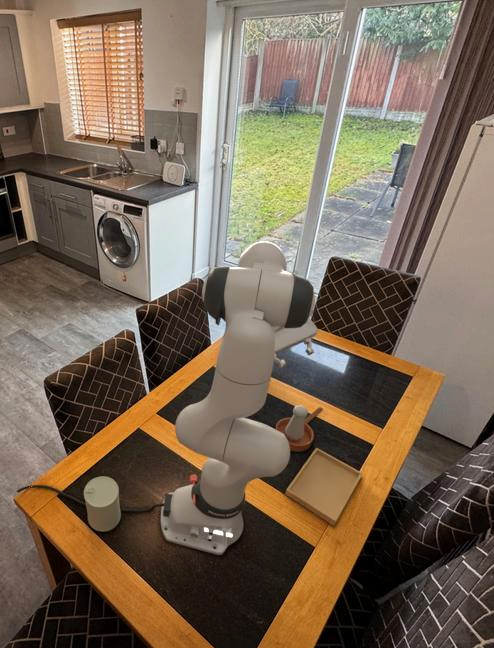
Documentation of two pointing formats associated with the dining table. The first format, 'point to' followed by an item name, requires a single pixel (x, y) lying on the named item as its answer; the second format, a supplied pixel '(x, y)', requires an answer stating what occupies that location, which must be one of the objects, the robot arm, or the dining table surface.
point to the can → (102, 503)
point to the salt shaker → (296, 424)
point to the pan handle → (313, 415)
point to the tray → (324, 485)
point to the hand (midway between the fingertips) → (297, 360)
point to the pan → (301, 443)
